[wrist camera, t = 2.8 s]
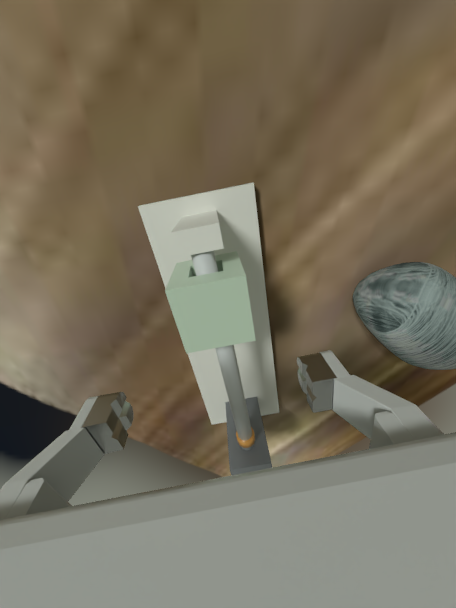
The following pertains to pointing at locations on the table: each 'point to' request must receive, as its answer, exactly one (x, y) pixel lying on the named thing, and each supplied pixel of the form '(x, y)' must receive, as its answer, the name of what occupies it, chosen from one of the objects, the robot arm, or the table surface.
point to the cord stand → (256, 354)
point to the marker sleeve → (211, 304)
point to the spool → (411, 312)
